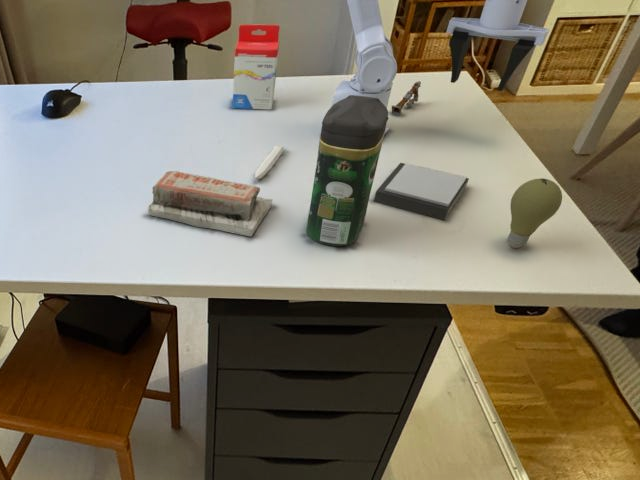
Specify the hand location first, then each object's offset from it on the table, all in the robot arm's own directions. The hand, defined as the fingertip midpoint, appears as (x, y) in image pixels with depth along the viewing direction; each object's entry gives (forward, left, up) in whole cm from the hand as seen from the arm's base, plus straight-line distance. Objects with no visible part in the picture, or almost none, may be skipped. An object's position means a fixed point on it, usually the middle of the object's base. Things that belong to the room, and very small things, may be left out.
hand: (477, 84), depth 94 cm
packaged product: (-26, -45, -9) cm, 53 cm away
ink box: (-41, -4, -10) cm, 42 cm away
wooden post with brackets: (-13, +8, -9) cm, 18 cm away
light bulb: (+16, -31, -10) cm, 36 cm away
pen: (-25, -27, -10) cm, 38 cm away
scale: (+1, -24, -9) cm, 25 cm away
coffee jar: (-7, -40, -9) cm, 42 cm away
